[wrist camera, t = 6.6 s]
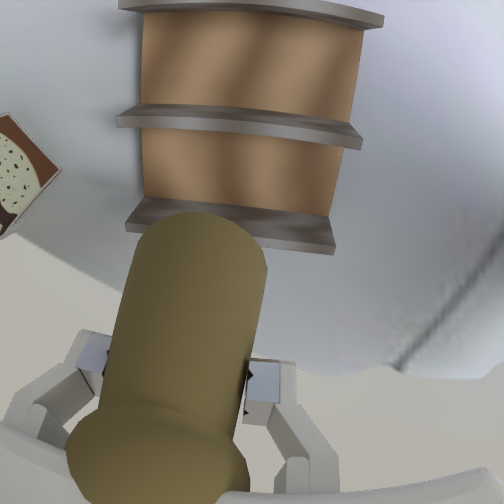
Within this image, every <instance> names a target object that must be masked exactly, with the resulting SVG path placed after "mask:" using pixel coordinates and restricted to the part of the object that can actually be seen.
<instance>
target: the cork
mask: <svg viewBox="0 0 504 504" xmlns="http://www.w3.org/2000/svg"><path fill="white" fill-rule="evenodd" d="M266 276H267V265H266V262H265V258H264V254H263V251H262V250H261V248H260V247H259V245H258V244H257V243H256V241H255V240H254V238H253V237H252V236H251V234H249V233H248V232H246V231H245V230H244V229H242V228H241V227H240V226H238V225H237V224H235V223H234V222H233V221H230V220H228V219H225V218H222V217H219V216H217V215H214V214H211V213H201V212H182V213H178V214H173V215H169V216H165V217H163V218H162V219H160V220H159V221H157V222H155V223H154V224H152V225H151V226H149V227H148V228H147V230H146V231H145V233H144V234H143V235H142V237H141V238H140V240H139V241H138V244H137V247H136V250H135V253H134V257H133V260H132V263H131V267H130V270H129V274H128V277H127V281H126V284H125V288H124V292H123V295H122V299H121V303H120V307H119V311H118V315H117V319H116V323H115V327H114V331H113V335H112V340H111V344H110V349H109V353H108V358H107V363H106V368H105V373H104V378H103V383H102V388H101V394H100V400H99V406H98V409H97V410H95V411H93V412H92V413H90V414H89V415H87V416H85V417H84V418H83V419H82V420H81V421H79V422H78V424H77V425H76V427H75V428H74V430H73V431H72V432H71V434H70V435H69V437H68V438H67V441H66V444H65V447H64V450H65V451H66V456H67V463H68V467H69V471H70V475H71V476H72V478H73V479H74V481H75V483H76V485H77V486H78V488H79V490H80V492H81V493H82V495H83V497H84V498H85V499H86V500H87V501H89V502H90V503H92V504H215V503H216V502H217V500H218V499H219V497H220V496H221V495H222V494H224V493H225V492H228V491H243V492H250V476H249V472H248V468H247V464H246V460H245V458H244V457H243V455H242V454H241V453H240V451H239V450H238V448H237V447H236V445H235V444H234V442H233V441H232V440H233V436H234V431H235V427H236V422H237V418H238V413H239V409H240V404H241V399H242V394H243V390H244V386H245V381H246V376H247V371H248V365H249V359H250V357H251V352H252V348H253V343H254V338H255V333H256V328H257V323H258V318H259V314H260V309H261V304H262V299H263V294H264V289H265V283H266Z"/></svg>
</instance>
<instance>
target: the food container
mask: <svg viewBox="0 0 504 504" xmlns="http://www.w3.org/2000/svg"><path fill="white" fill-rule="evenodd" d="M61 170H62V168H61V167H60V166H59V165H58V164H57V163H56V162H55V161H54V160H53V159H52V158H51V157H50V156H49V155H48V154H47V153H46V152H45V151H44V150H43V149H42V148H41V147H40V146H39V144H38V143H37V142H36V141H35V140H34V139H33V138H32V137H31V136H30V135H29V134H28V133H27V132H26V130H25V129H24V128H23V127H22V126H21V125H20V124H19V123H18V122H17V121H16V119H15V118H14V117H13V116H12V115H11V114H10V113H9V112H8V113H5V114H2V115H0V240H2V239H4V238H6V237H7V236H9V235H11V234H12V233H14V232H16V231H17V230H18V229H19V228H20V227H22V225H23V224H24V222H25V221H26V220H25V219H24V220H22V221H21V222H19V223H17V224H15V223H16V221H17V220H18V219H19V218H20V216H21V215H22V214H23V213H24V212H25V210H26V209H27V208H28V207H29V206H30V205H31V204H32V202H33V201H34V200H35V199H36V198H37V197H38V196H39V194H40V193H41V192H42V191H43V190H44V189H45V188H46V187H47V186H48V185H49V184H50V183H51V181H52V180H53V179H54V178H55V177H56V176H57V175H58V174H59V173H60V172H61ZM14 224H15V225H14Z"/></svg>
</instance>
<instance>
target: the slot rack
mask: <svg viewBox="0 0 504 504" xmlns="http://www.w3.org/2000/svg"><path fill="white" fill-rule="evenodd" d="M118 9H121V10H128V11H134V12H139V13H144V22H143V39H142V62H141V104H139V105H137V106H135V107H133V108H131V109H129V110H127V111H125V112H123V113H121V114H120V115H118V116H116V128H141V140H142V165H143V183H144V198H143V199H142V200H141V202H140V203H139V204H138V206H137V207H136V208H135V210H134V211H133V212H132V214H131V215H130V216H129V218H128V219H127V221H126V222H125V228H126V232H135V233H145V231H146V230H147V228H148V227H149V226H151V225H152V224H154V223H155V222H157V221H159V220H160V219H162V218H163V217H165V216H169V215H173V214H178V213H182V212H201V213H211V214H214V215H217V216H219V217H222V218H225V219H228V220H230V221H233V222H234V223H235V224H237V225H238V226H240V227H241V228H242V229H244V230H245V231H246V232H248V233H249V234H251V236H252V237H253V238H254V240H255V241H256V243H257V244H258V245H259V247H267V248H275V249H284V250H293V251H301V252H310V253H318V254H326V255H334V252H335V248H336V245H335V241H334V237H333V233H332V229H331V225H330V221H329V217H328V216H329V212H330V207H331V203H332V199H333V194H334V190H335V186H336V181H337V177H338V172H339V168H340V163H341V158H342V153H343V149H344V147H345V148H350V149H356V150H361V146H362V141H363V138H362V137H361V136H360V135H359V134H358V133H357V131H356V130H355V129H354V128H353V127H352V126H351V125H350V124H349V118H350V113H351V108H352V102H353V97H354V91H355V85H356V79H357V73H358V67H359V61H360V54H361V48H362V41H363V34H364V30H369V29H374V28H381V27H383V23H384V15H380V14H377V13H373V12H370V11H366V10H362V9H358V8H354V7H349V6H345V5H340V4H336V3H331V2H326V1H320V0H119V2H118Z"/></svg>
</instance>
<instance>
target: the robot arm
mask: <svg viewBox="0 0 504 504" xmlns="http://www.w3.org/2000/svg"><path fill="white" fill-rule="evenodd" d="M111 340H112V336H109V335H105V334H101V333H96V332H92V331H88V330H84V329H82V330H81V331H80V332H79V333H78V335H77V337H76V339H75V340H74V342H73V344H72V346H71V348H70V351H69V353H68V354H67V356H66V359H65V361H64V362H63V364H61V363H59V364H57V365H56V366H54V367H53V368H51V369H50V370H49V371H47V372H46V373H44V374H43V375H41V376H40V377H38V378H37V379H35V380H34V381H32V382H31V383H29V384H28V385H26V386H25V387H23V388H22V389H20V390H19V391H18V392H16V393H15V395H14V397H13V399H12V401H11V403H10V405H9V407H8V409H7V412H6V414H5V416H4V418H3V421H0V504H92V503H90V502H89V501H87V500H86V499H85V498H84V497H83V495H82V493H81V492H80V490H79V488H78V486H77V485H76V483H75V481H74V479H73V478H72V476H71V475H70V471H69V467H68V463H67V456H66V451H65V450H64V447H65V444H66V441H67V438H68V437H69V435H70V434H69V433H68V432H67V431H66V430H65V429H64V428H63V427H62V426H63V425H64V424H65V423H66V422H67V421H68V420H69V419H70V418H72V417H73V416H74V415H75V414H76V413H77V412H78V411H79V410H81V409H82V408H83V407H84V406H85V405H86V404H87V403H88V402H89V401H90V400H92V398H94V396H98V397H100V394H101V388H102V383H103V378H104V373H105V368H106V363H107V358H108V353H109V349H110V344H111ZM242 423H243V424H252V425H260V426H267V429H268V431H269V433H270V434H271V436H272V438H273V440H274V441H275V443H276V445H277V447H278V449H279V450H280V452H281V454H282V456H283V457H284V459H285V461H286V463H285V464H284V466H283V467H282V469H281V470H280V471H279V473H278V474H277V476H276V477H275V480H274V493H256V492H243V491H228V492H225V493H224V494H222V495H221V496H220V497H219V499H218V500H217V502H216V503H215V504H504V484H503V483H502V482H501V481H500V480H499V479H498V478H497V477H496V476H495V475H494V474H493V473H492V472H491V471H490V470H488V469H487V468H485V467H479V468H475V469H472V470H468V471H464V472H461V473H457V474H454V475H450V476H446V477H442V478H437V479H433V480H428V481H423V482H419V483H413V484H407V485H402V486H395V487H389V488H381V489H373V490H365V491H354V492H341V493H340V479H339V461H338V460H339V459H338V455H337V453H336V452H335V451H334V449H333V448H332V447H331V445H330V444H329V443H328V441H327V440H326V439H325V437H324V436H323V435H322V433H321V432H320V431H319V429H318V428H317V426H316V425H315V424H314V423H313V421H312V420H311V418H310V417H309V416H308V414H307V413H306V411H305V410H304V409H303V407H302V406H301V405H297V399H296V364H295V362H294V361H279V360H272V359H259V358H250V359H249V365H248V371H247V379H246V387H245V401H244V408H243V421H242Z"/></svg>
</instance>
